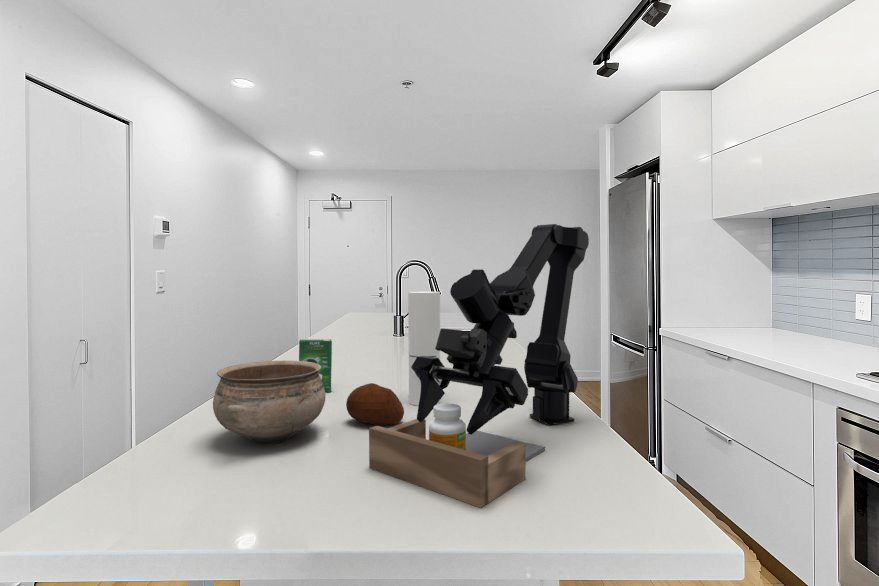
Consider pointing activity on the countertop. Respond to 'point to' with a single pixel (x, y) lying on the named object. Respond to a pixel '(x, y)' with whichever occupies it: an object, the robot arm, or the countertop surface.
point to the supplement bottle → (448, 426)
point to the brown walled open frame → (445, 464)
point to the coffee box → (318, 358)
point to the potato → (374, 405)
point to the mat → (496, 444)
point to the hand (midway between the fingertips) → (442, 426)
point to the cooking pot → (268, 399)
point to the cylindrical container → (422, 334)
